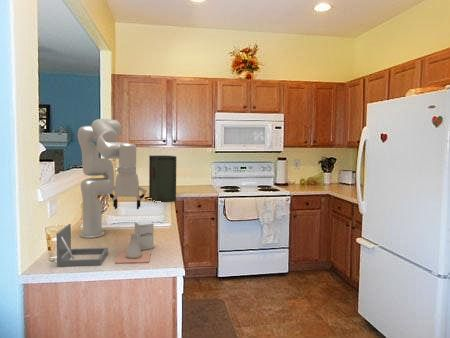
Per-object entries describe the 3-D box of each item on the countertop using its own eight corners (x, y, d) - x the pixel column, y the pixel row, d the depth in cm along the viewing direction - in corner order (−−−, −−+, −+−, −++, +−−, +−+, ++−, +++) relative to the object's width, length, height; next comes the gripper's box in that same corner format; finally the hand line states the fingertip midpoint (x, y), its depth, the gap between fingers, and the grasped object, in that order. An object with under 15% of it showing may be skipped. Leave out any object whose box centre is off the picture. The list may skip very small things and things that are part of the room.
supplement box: (138, 250, 164) (139, 225, 163) (134, 246, 170) (134, 221, 169) (153, 248, 168) (153, 223, 167) (148, 244, 174) (148, 220, 173)
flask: (144, 254, 157) (144, 233, 156) (138, 259, 149) (138, 237, 149) (130, 253, 158) (130, 232, 157) (122, 258, 151) (122, 236, 150)
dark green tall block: (176, 201, 302) (176, 156, 299) (155, 203, 293) (156, 156, 290) (168, 198, 318) (168, 155, 315) (149, 199, 309) (149, 155, 306)
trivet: (120, 253, 159) (120, 252, 159) (151, 252, 161) (151, 251, 161) (115, 263, 146) (115, 262, 146) (148, 262, 148) (148, 261, 148)
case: (69, 253, 157) (68, 223, 156) (108, 252, 160) (107, 223, 159) (57, 266, 141) (56, 233, 140) (100, 265, 144) (100, 232, 143)
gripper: (105, 171, 149) (105, 210, 150) (146, 172, 151) (145, 210, 153) (108, 169, 156) (108, 206, 158) (147, 170, 159) (147, 206, 160)
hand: (127, 208), depth 155 cm, fingers open, 9 cm apart
